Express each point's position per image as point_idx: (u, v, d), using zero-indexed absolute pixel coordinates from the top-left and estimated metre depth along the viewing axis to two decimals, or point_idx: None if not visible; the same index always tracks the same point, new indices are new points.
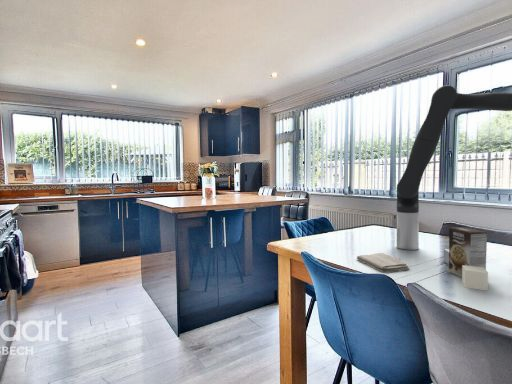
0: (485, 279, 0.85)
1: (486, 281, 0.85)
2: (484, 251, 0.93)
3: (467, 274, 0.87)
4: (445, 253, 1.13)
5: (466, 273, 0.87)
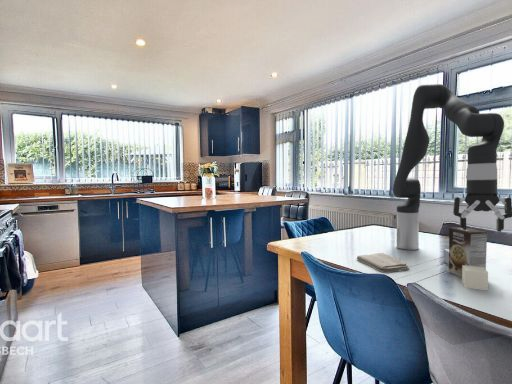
0: (485, 279, 0.85)
1: (486, 281, 0.85)
2: (484, 251, 0.93)
3: (467, 274, 0.87)
4: (445, 253, 1.13)
5: (466, 273, 0.87)
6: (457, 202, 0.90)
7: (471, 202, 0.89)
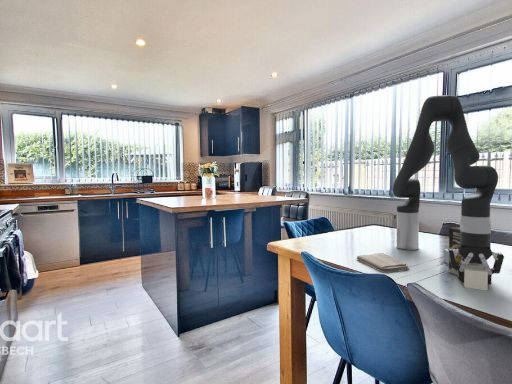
0: (485, 279, 0.85)
1: (486, 281, 0.85)
2: None
3: (467, 274, 0.87)
4: (445, 253, 1.13)
5: (466, 273, 0.87)
6: (452, 255, 0.90)
7: (465, 255, 0.89)
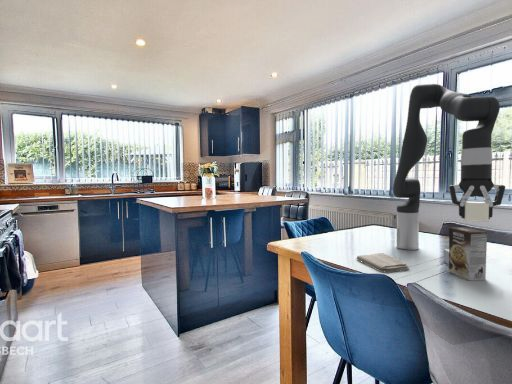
0: (486, 210, 0.84)
1: (487, 212, 0.84)
2: (484, 251, 0.93)
3: (467, 207, 0.86)
4: (445, 253, 1.13)
5: (467, 206, 0.86)
6: (452, 190, 0.89)
7: (466, 189, 0.88)
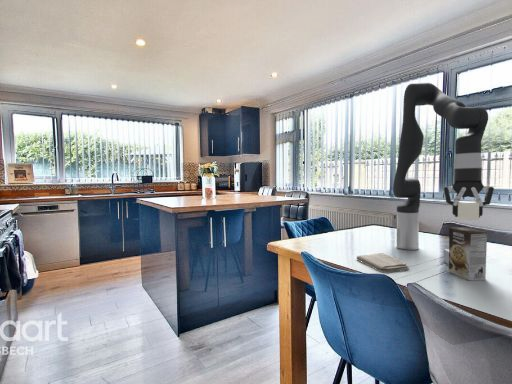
0: (477, 209, 0.93)
1: (477, 211, 0.93)
2: (484, 251, 0.93)
3: (460, 206, 0.95)
4: (445, 253, 1.13)
5: (459, 205, 0.95)
6: (446, 191, 0.98)
7: (458, 190, 0.97)
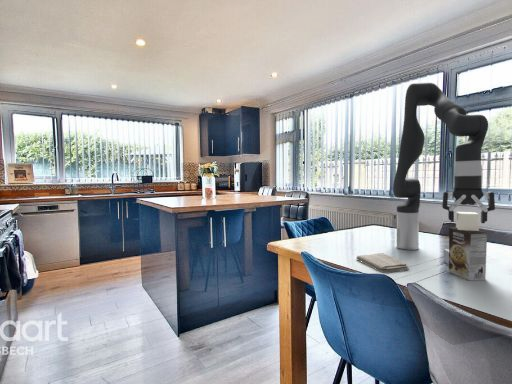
0: (477, 220, 0.93)
1: (477, 222, 0.93)
2: (484, 251, 0.93)
3: (460, 217, 0.96)
4: (445, 253, 1.13)
5: (459, 216, 0.96)
6: (445, 196, 0.98)
7: (458, 196, 0.97)
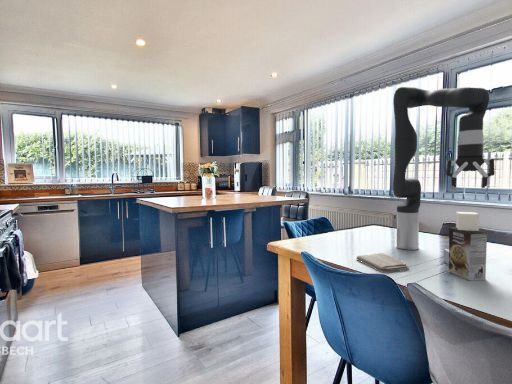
0: (477, 220, 0.93)
1: (477, 222, 0.93)
2: (484, 251, 0.93)
3: (460, 217, 0.95)
4: (445, 253, 1.13)
5: (459, 216, 0.96)
6: (449, 164, 1.07)
7: (461, 164, 1.05)
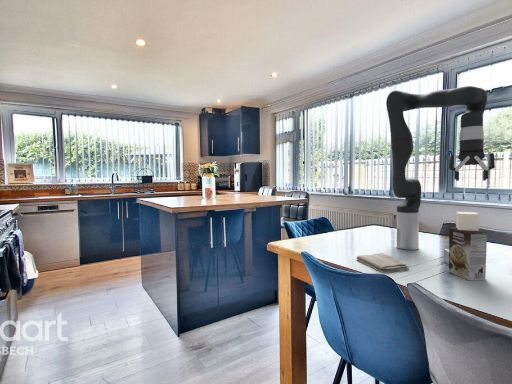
0: (477, 220, 0.93)
1: (477, 222, 0.93)
2: (484, 251, 0.93)
3: (460, 217, 0.95)
4: (445, 253, 1.13)
5: (459, 216, 0.96)
6: (452, 159, 1.13)
7: (463, 158, 1.12)
